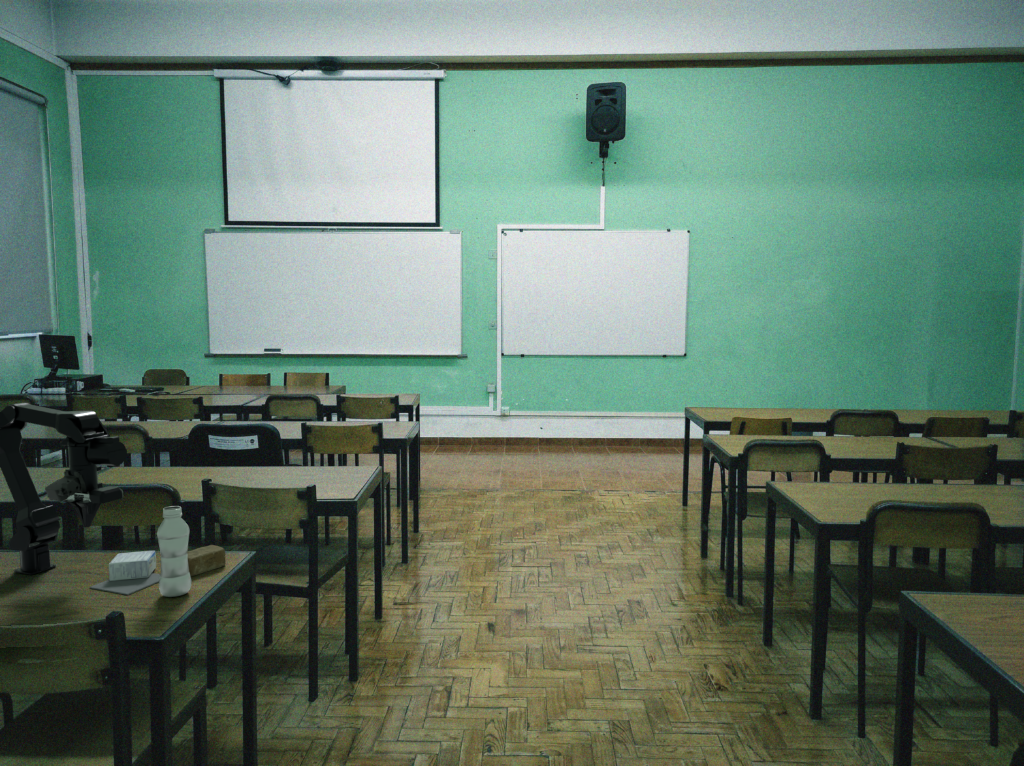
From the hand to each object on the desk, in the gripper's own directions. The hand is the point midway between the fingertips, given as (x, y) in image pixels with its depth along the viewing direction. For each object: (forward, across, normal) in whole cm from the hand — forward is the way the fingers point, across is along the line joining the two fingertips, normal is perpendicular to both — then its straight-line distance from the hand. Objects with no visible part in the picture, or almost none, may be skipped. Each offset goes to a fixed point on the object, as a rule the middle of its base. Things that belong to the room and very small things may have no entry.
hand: (86, 527), depth 170 cm
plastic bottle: (+12, +30, -2) cm, 32 cm away
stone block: (+12, +22, +13) cm, 29 cm away
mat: (+12, +14, 0) cm, 18 cm away
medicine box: (+10, +6, +1) cm, 11 cm away
